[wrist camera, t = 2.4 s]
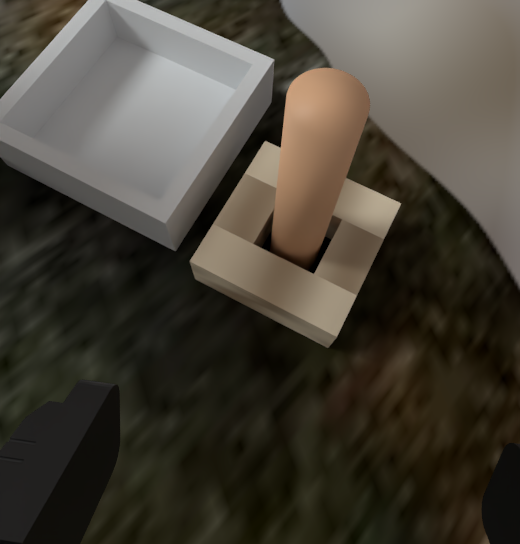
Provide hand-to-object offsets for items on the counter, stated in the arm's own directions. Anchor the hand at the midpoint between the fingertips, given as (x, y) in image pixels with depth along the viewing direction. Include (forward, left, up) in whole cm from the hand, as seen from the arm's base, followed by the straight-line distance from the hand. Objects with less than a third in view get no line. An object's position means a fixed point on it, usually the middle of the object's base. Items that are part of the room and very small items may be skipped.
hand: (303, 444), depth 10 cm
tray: (-17, +14, -17) cm, 28 cm away
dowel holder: (-4, +11, -17) cm, 21 cm away
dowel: (-4, +11, -17) cm, 21 cm away
